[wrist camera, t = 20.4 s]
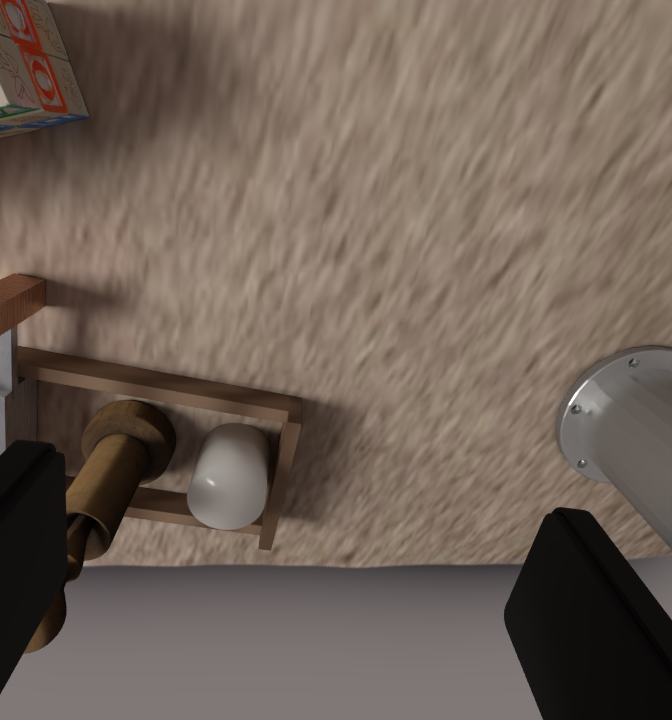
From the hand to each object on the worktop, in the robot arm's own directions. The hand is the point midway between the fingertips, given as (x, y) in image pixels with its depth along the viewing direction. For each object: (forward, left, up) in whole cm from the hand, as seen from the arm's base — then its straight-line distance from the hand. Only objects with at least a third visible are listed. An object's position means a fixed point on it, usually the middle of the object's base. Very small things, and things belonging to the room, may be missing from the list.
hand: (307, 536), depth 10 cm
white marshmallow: (+2, +17, -28) cm, 33 cm away
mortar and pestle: (+10, +17, -28) cm, 34 cm away
